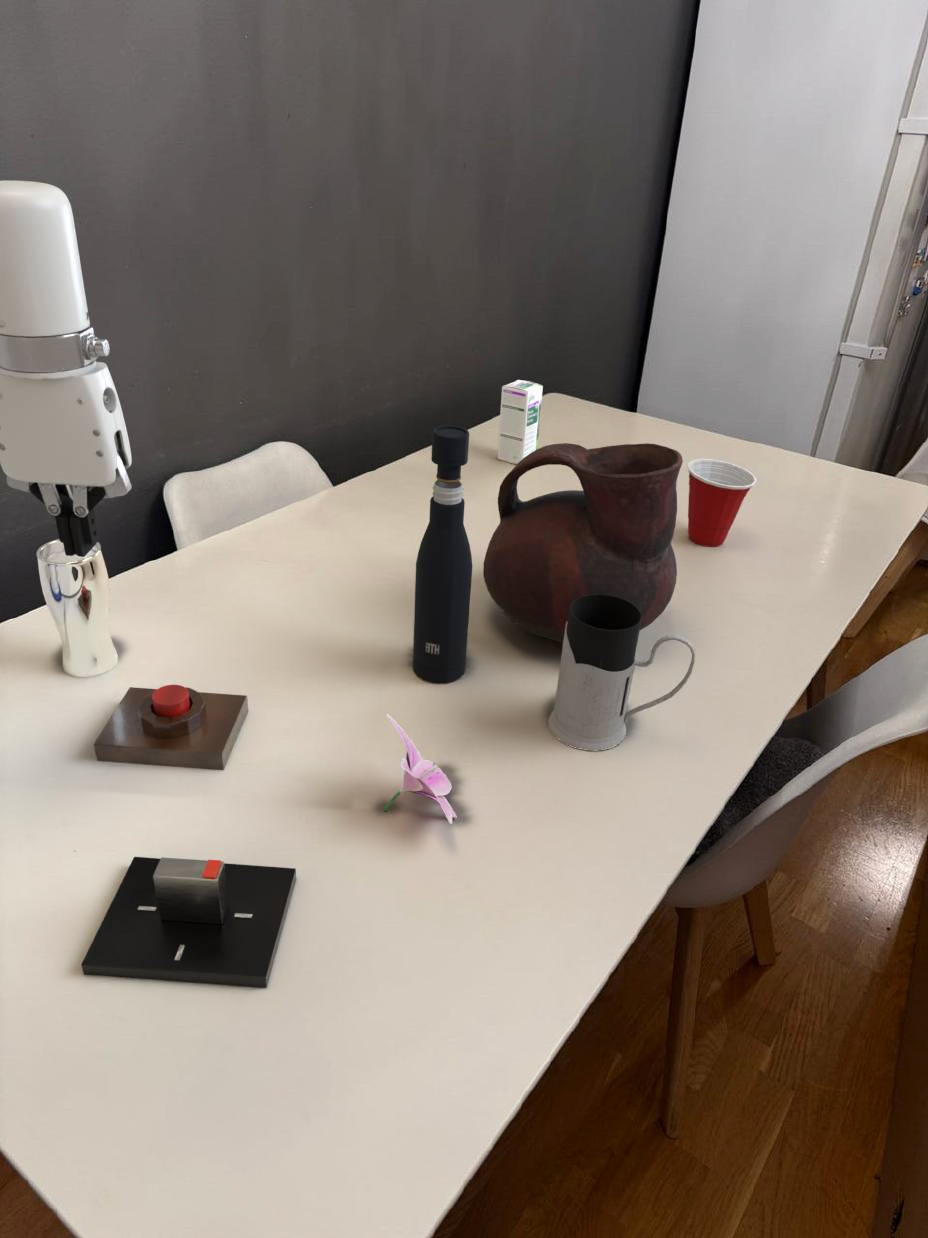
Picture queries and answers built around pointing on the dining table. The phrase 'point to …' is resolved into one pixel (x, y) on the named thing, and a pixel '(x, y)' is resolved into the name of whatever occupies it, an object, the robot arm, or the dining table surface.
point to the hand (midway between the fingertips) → (81, 549)
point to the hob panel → (194, 931)
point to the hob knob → (191, 890)
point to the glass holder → (600, 672)
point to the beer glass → (79, 607)
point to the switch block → (173, 731)
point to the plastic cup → (715, 499)
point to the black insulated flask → (444, 568)
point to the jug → (586, 535)
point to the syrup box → (519, 420)
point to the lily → (422, 776)
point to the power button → (171, 701)
